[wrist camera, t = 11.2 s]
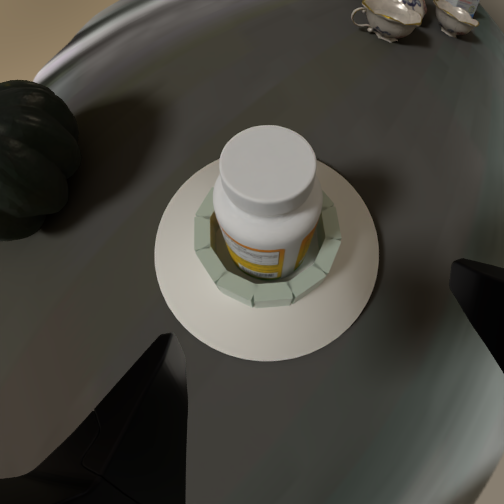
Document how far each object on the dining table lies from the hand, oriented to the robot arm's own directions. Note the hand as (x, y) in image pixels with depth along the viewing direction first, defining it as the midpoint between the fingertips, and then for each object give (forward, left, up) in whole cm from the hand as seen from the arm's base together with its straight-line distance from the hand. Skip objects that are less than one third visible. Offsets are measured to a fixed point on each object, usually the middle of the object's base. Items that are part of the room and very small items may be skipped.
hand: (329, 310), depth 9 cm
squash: (-13, +24, -12) cm, 30 cm away
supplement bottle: (+2, +6, -11) cm, 13 cm away
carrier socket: (+2, +6, -12) cm, 14 cm away
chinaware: (+43, +25, -13) cm, 51 cm away
